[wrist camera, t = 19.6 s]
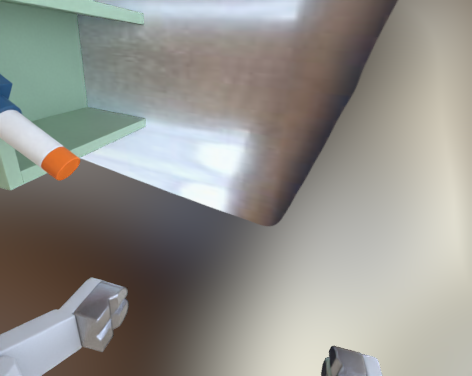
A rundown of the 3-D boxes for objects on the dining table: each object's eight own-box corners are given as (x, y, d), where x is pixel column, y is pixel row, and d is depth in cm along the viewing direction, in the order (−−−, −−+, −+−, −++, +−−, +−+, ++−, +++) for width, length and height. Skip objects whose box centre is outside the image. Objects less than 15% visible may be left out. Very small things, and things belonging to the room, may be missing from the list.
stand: (143, 13, 42) (-56, -38, 19) (145, 126, 51) (10, 190, 27) (69, 2, 44) (-202, -58, 20) (83, 113, 52) (-97, 163, 29)
